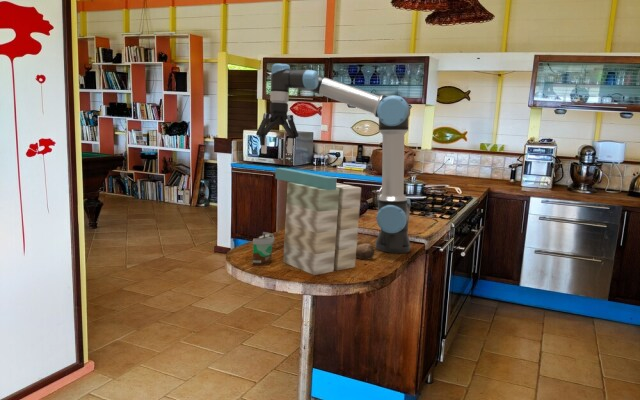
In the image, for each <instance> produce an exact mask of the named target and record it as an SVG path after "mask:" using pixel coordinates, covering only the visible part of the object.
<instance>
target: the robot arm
mask: <svg viewBox="0 0 640 400" xmlns="http://www.w3.org/2000/svg"><path fill="white" fill-rule="evenodd" d="M290 89H298V90H300V89H301V90H306V91H308V92H312V93H315V94H317V95H320V96H324V97H326V98H329V99H332V100H335V101H337V102H340V103H343V104H346V105H349V106H351V107H354V108H357V109H360V110H362V111H366V112H368V113H372V114H373V116H374V117H376V118H378V132H379V133H380V134H381V135H382V144H381V145H382V152H381V153H382V157H381V158H382V159H381V161H382V162H381V167H382V171H381V175H382V177H381V179H382V180H381V195H380V196H379V197H378V200H377V201H378V202H377V204H378V205H377V208H378V209H377V214H376V216H375V217H376V223H377V225H378V228H380V231H379V233H378V236H377V238H376V240H375V247H374V249H376V250H379V251H381V252H384V253H392V254H405V253H409V252H410V251H411V242H410V238H409V233H408V231H409V221H410V213H411V211H410V210H411V199H410V198H408V197H406V196H405V194H404V191H405V190H404V188H405V187H404V185H405V184H404V183H405V180H404V179H405V135H406V133H407V132H409V123H410V122H409V119H410V116H411V107H410V104H409V103H408V102H407V101H406V99H404V98H403V97H402V96H400V95H393V94H392V95H384V94H381V95H377V94H374V93H372V92H369V91H366V90H362V89H360V88H357V87H354V86H351V85H348V84H345V83H344V82H343V83H342V82H340V81H336V80H334V79H331V78H328V77H324V76H323V75H319V73H318V71H317V70H312V69H291V67H290V65H289V64H287V63H274V64H272V66H271V73H270V95H269V98H270V100H269V101H270V103H269V112H270V113H268V112H267V113H266V112H265V113H263V116H262V120H261V122H260V124H259V126H258V129H257V131H256V133H255V134H256V136H258V137H259V138H260V139H259V140H260V143H259V144H260V146H261V149H260V151H261V152H260V153H261V154H265V155H266V154H267V153H268V152H267V150H268V146H267V145H268V138H267V136H268V134H269V132H270V131H271V130H272V129H273V127H274V126H282V128H283V129H284V130H285V133H286V134H287V136H288V138H287V146H286V148H287V149H286V153H287V154H293V150H294V149H293V147H294V146H295V139H297V138H298V137H299V134H298V130H297V127H296V124H295V121H294V115H293V114H288V112H289V104H288V102H289V96H290V95H289V92H290V91H289V90H290ZM269 119H270V120H269Z"/></svg>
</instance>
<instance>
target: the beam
mask: <svg viewBox="0 0 640 400" xmlns="http://www.w3.org/2000/svg"><path fill="white" fill-rule="evenodd" d="M274 175H275V176H274V177H275V180H279V181H283V182H288V183H298V184H302V185H307V186H311V187H316V188H321V189H325V190H336V184H337V183H338V182H337V180H338V178H337V177H333V176H327V175H323V174H318V173H312V172H307V171H303V170H295V169H292V168H286V167H284V168H282V167H276V168H275V174H274Z"/></svg>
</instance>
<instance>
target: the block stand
mask: <svg viewBox="0 0 640 400" xmlns="http://www.w3.org/2000/svg"><path fill="white" fill-rule="evenodd" d="M286 191H287V192H286V193H287V194H286V206H285V207H286V209H285V223H284V242H283V243H284V244H283V256H282V257H283V258H282V259H283V261H282V262H283V263H284V264H287V265H290V266H291V267H293V268H297V269H298V270H302V271H303V272H306V273H308V274H309V275H310V274H311V275H313V276H316V275H317V276H318V275H321V274H327V273H331V272H334V270H335V271H337V272H338V271H341V270H346V269H352V268H355V267H356V259H357V257H356V247H357V245H358V233H359V223H360V222H359V220H360V210H361V209H360V208H361V197H362V195H361V194H362V187H359V186H354V185H350V184H344V183H339V182H337V184H336V190H325V189H321V188H316V187H311V186H307V185H302V184H298V183H293V182H287V187H286Z"/></svg>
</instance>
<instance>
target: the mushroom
mask: <svg viewBox="0 0 640 400" xmlns="http://www.w3.org/2000/svg"><path fill="white" fill-rule="evenodd" d="M374 255H375V247H373V245H372V244H370V243H367V242H366V243H365V242H364V243H361V244H357V247H356V259H359V260H370V259H372V258H373V257H374Z"/></svg>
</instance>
